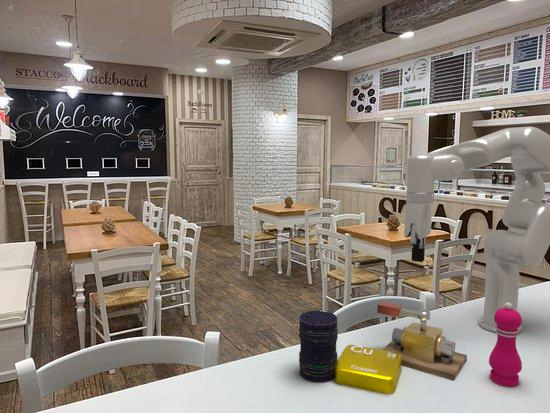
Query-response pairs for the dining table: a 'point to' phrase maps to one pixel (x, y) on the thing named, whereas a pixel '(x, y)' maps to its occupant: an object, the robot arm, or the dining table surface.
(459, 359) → the valve board
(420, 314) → the valve lever
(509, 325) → the pepper mill
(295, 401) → the dining table surface
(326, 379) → the black ridged cylinder
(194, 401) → the dining table surface
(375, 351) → the element tile
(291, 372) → the dining table surface
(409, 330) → the ball valve
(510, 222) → the robot arm
